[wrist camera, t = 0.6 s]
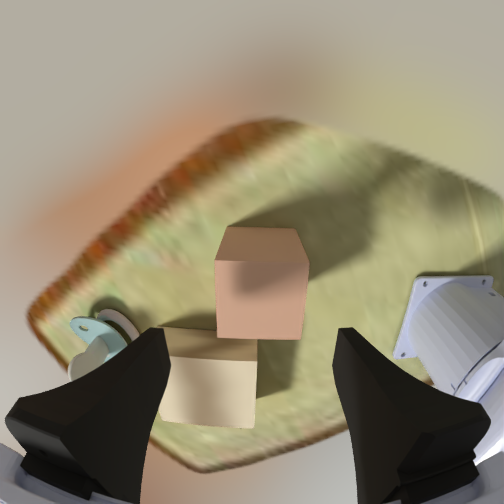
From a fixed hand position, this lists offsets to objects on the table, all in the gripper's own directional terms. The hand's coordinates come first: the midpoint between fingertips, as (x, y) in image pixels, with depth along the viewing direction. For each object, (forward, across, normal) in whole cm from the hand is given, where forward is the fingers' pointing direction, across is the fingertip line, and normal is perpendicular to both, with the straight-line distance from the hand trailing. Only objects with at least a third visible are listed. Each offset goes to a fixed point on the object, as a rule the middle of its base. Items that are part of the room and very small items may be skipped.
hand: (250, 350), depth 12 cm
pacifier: (+10, +12, +7) cm, 17 cm away
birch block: (+9, +4, +10) cm, 14 cm away
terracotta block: (+9, 0, 0) cm, 9 cm away
